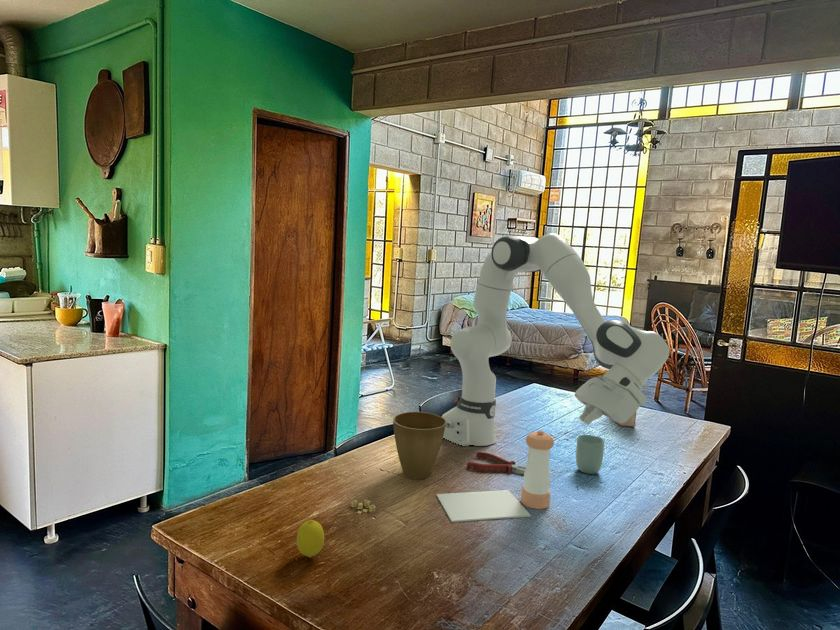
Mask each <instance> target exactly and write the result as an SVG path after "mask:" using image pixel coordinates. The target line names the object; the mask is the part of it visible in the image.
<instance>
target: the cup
mask: <svg viewBox="0 0 840 630" xmlns="http://www.w3.org/2000/svg"><path fill="white" fill-rule="evenodd" d="M575 448H576V449H575V463H576V466H577V469H578V470H579V471H580V472H582V473H584V474H587V475H595V474H597V473H599V472H600V470H601V467H602V466H603V465H602V464H603V460H604V453H605V452H604V450H605V440H604V439H603V438H602V437H601V436H597V435H591V434H580V435H578V436H577V439H576V447H575Z"/></svg>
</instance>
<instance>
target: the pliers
mask: <svg viewBox="0 0 840 630" xmlns="http://www.w3.org/2000/svg"><path fill="white" fill-rule="evenodd" d="M475 457H478V458H477V459H480V458H482V459H481V460H486V459H487V460H486V461H490V462H492V461H493V462H492V463H493V464H492V463H487V464H486V463H478V462H475V461H468V462H467V464H466V469H468V470H470V469H472V470H471V471H474V470H476V471H475V472H479V471H480V473H507V474H508V475H511V473H514V474H518V475H524V473H525V469H526V466H523V465H519V464H516V462H515V461H514V460H510V461H508V460H507V459H504V458H501V457H499V456H497V455H495V454H493V453H489V452H485V451H478V452H476V454H475ZM494 463H495V464H494Z"/></svg>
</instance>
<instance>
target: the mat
mask: <svg viewBox="0 0 840 630" xmlns="http://www.w3.org/2000/svg"><path fill="white" fill-rule="evenodd" d="M435 496H436V497H438V498H437V499H438V500H439V502H440V504H441V507H442V508H443V510H444V511H445V513H446V514H447V517H448V518H449V520H450V521H451V523H459V522H473V521H474V522H475V521H488V520H501V519H514V518H515V519H519V518H530V517H531V514H530V513H529V512H528V510H527V509H526V508H525V507H524V506H523V504H522V503H520V502H519V500H518V499H517V498H516V496H514V495H513V493H512V492H511V491H510V490H509V489H502V490H488V491H487V490H486V491H485V490H484V491H483V490H482V491H470V492H469V491H468V492H450V493H436V495H435Z"/></svg>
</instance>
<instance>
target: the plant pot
mask: <svg viewBox="0 0 840 630" xmlns="http://www.w3.org/2000/svg"><path fill="white" fill-rule="evenodd" d="M392 424H393V434H394V435H393V436H394V441H395V446H396V453H397V456H398V459H399V463H400V466H401V469H402V472H403V476H405V477H407V478H409V479H412V478H413V480H423V478H424V479H426V478H428V477H429V476H430V475H431V473H432V470H433V468H434V465H435V463H436V461H437V459H438V455H439V453H440V449H441V446H442V443H443V440H444V439H443V435H444V431H445V426H446V420H445V419H444V418H442V416H440V415H438V414H435V413H431V412H425V411H406V412H405V411H404V412H402V413H397V414H396V415H394V416H393V418H392Z"/></svg>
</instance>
